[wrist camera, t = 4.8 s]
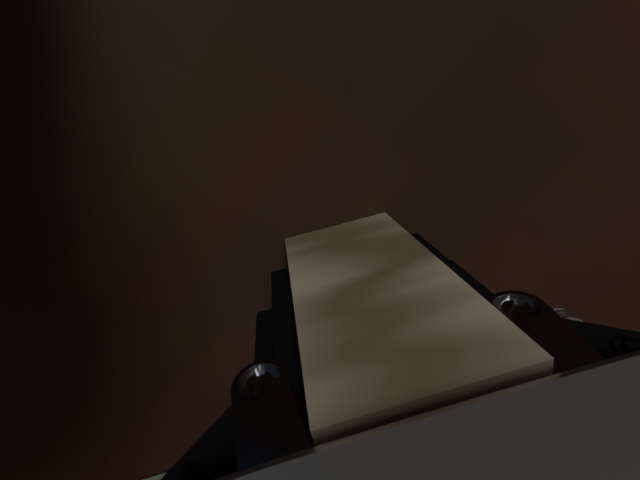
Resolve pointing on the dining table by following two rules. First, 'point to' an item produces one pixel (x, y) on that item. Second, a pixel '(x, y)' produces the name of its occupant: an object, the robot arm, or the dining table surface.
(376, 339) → the birch peg
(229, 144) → the dining table surface
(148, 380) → the dining table surface
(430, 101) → the dining table surface
